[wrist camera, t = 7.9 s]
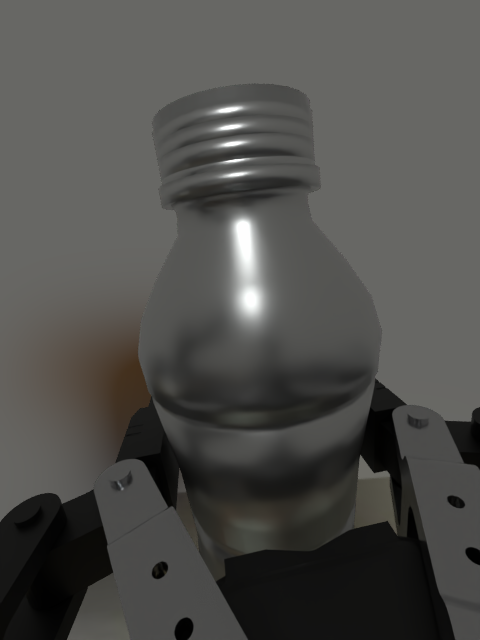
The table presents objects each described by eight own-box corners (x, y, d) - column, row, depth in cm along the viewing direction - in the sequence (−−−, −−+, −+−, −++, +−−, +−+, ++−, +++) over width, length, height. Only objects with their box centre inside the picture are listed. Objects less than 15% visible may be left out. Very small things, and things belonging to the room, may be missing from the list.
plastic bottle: (223, 566, 16) (150, 165, 11) (352, 573, 15) (349, 133, 10) (190, 767, 10) (-23, 89, 5) (399, 802, 9) (470, -22, 3)
